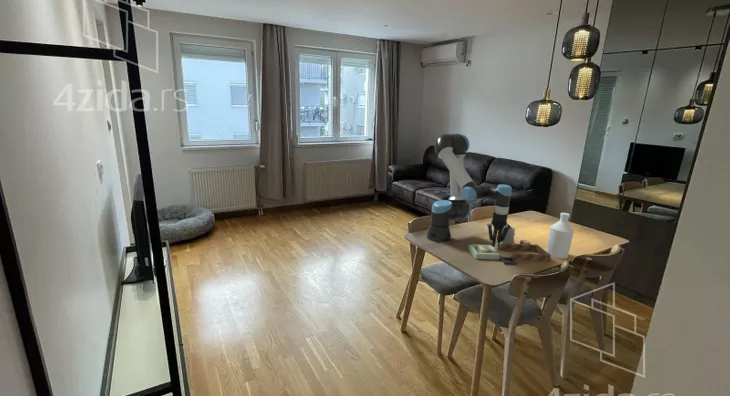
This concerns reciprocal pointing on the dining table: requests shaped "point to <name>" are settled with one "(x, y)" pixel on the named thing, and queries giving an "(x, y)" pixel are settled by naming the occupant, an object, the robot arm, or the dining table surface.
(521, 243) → the terracotta cube
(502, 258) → the tray
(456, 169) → the robot arm
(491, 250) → the beech block
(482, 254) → the dock
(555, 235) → the bottle
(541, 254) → the shallow wooden box
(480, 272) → the dining table surface
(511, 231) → the mug
